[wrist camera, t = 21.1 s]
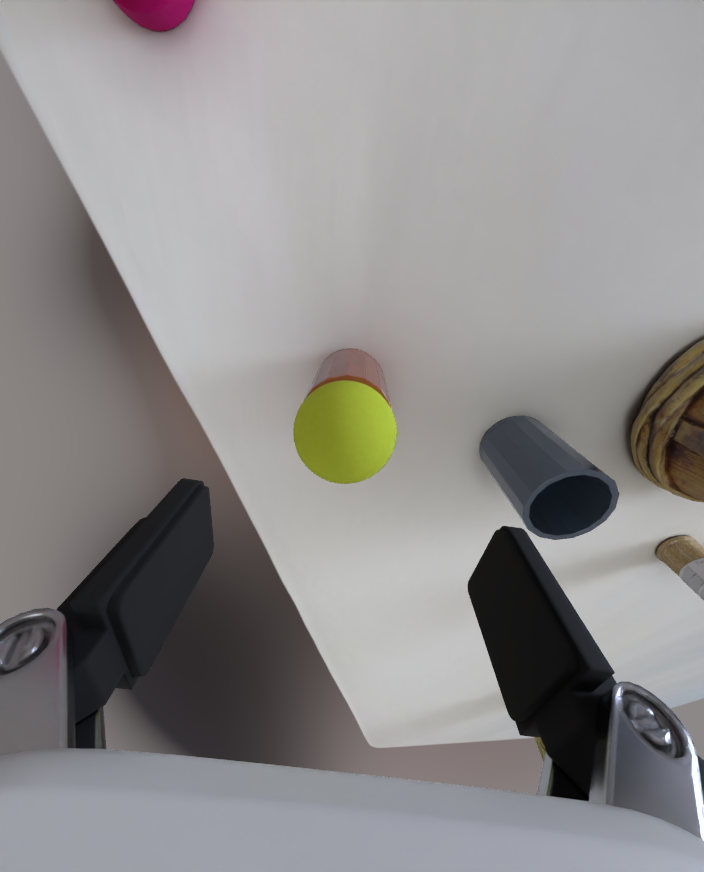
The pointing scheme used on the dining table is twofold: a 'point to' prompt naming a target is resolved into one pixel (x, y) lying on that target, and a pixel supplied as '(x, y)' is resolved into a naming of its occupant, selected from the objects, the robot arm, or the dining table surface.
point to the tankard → (674, 428)
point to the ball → (345, 432)
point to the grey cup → (547, 479)
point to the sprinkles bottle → (685, 561)
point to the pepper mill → (156, 12)
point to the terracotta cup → (351, 371)
